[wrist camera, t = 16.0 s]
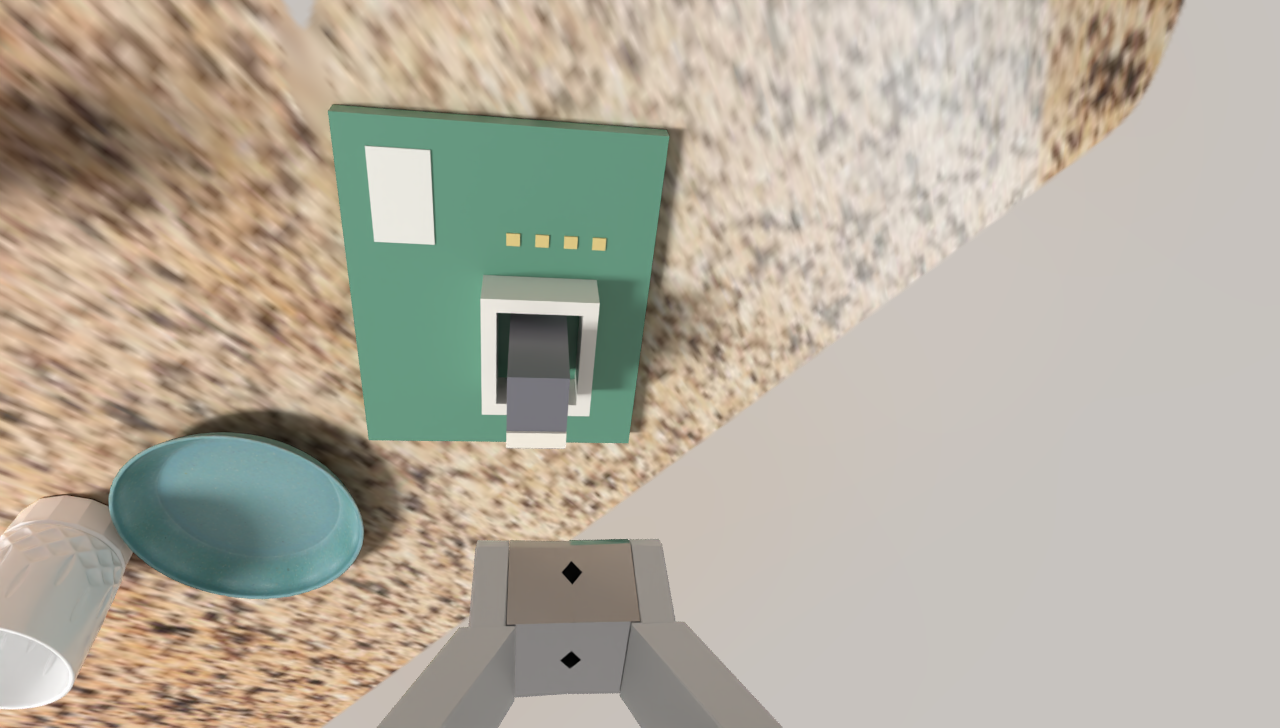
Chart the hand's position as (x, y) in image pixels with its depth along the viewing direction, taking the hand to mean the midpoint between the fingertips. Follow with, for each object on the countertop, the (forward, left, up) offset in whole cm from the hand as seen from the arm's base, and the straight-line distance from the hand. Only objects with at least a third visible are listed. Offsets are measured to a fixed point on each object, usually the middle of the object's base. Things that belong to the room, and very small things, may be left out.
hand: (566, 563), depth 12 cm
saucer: (+28, -18, -30) cm, 45 cm away
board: (+12, -2, -29) cm, 32 cm away
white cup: (+31, -29, -29) cm, 52 cm away
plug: (+14, 0, -28) cm, 31 cm away
